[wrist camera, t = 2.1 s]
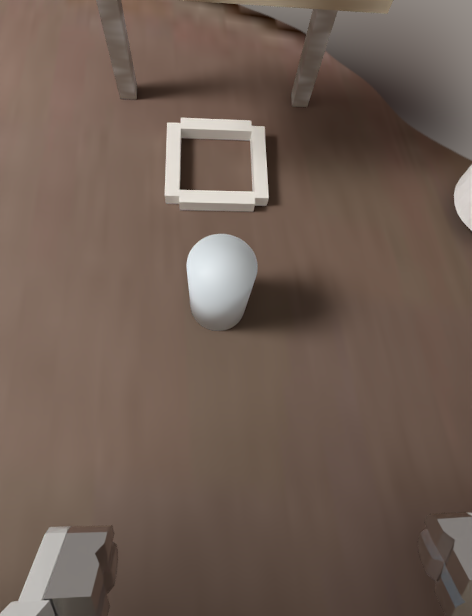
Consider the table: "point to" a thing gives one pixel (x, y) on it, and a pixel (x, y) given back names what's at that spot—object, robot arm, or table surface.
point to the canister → (220, 280)
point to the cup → (464, 198)
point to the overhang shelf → (323, 4)
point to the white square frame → (216, 199)
